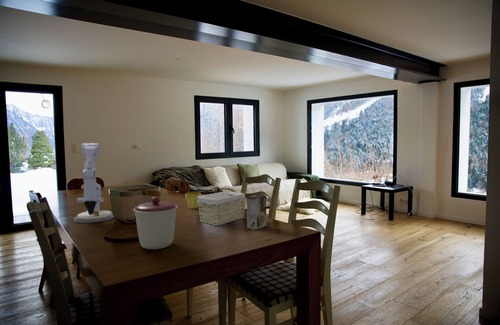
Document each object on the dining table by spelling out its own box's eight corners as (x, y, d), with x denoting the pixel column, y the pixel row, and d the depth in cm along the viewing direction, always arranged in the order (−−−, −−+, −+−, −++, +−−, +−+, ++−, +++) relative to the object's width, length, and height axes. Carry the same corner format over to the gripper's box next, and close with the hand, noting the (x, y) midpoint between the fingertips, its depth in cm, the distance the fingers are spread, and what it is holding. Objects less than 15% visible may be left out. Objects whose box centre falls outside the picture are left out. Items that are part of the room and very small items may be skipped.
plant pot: (186, 206, 226) (185, 192, 225) (201, 206, 227) (201, 192, 226) (184, 209, 216) (184, 194, 215) (200, 209, 217) (200, 194, 216)
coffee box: (256, 224, 175) (256, 194, 174) (266, 226, 171) (266, 195, 170) (246, 228, 167) (246, 196, 166) (257, 230, 164) (256, 197, 163)
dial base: (72, 217, 196) (72, 214, 196) (112, 212, 207) (112, 210, 207) (74, 225, 177) (74, 222, 177) (118, 219, 189) (118, 217, 188)
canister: (136, 255, 128) (134, 201, 127) (132, 242, 145) (131, 195, 144) (182, 249, 135) (181, 198, 134) (174, 237, 152) (173, 192, 151)
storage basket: (216, 227, 171) (216, 198, 170) (196, 222, 181) (195, 195, 180) (247, 218, 189) (246, 193, 188) (226, 214, 199) (226, 190, 198)
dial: (75, 215, 195) (75, 208, 194) (108, 211, 205) (107, 204, 205) (79, 221, 180) (79, 213, 180) (114, 217, 190) (114, 209, 190)
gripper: (73, 191, 182) (74, 215, 183) (98, 191, 181) (99, 216, 182) (80, 189, 189) (81, 213, 190) (105, 189, 188) (106, 213, 189)
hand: (90, 214), depth 187 cm, fingers closed
